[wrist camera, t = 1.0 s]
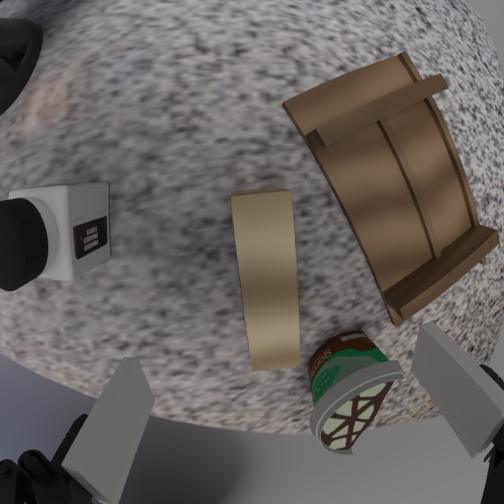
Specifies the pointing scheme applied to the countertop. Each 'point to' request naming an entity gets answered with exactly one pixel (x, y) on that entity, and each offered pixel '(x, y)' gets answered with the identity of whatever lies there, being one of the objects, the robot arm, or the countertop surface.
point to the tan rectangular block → (268, 275)
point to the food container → (348, 388)
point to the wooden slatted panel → (396, 179)
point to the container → (53, 232)
